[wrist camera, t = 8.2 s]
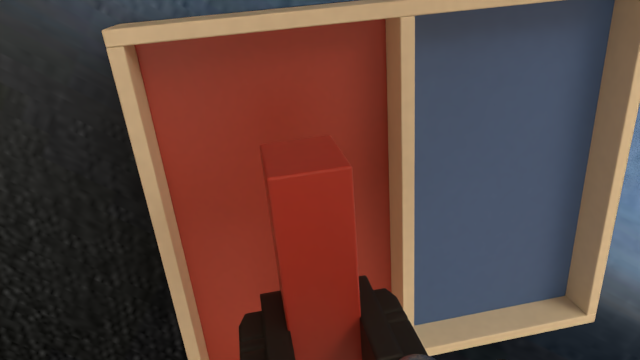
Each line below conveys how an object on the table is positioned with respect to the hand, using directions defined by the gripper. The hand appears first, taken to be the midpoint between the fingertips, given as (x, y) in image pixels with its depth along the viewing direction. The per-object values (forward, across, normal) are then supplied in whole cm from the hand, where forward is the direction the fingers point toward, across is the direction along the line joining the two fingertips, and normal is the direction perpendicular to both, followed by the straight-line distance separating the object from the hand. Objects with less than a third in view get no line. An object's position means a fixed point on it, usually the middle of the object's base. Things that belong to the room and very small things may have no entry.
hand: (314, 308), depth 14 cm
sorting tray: (+9, -5, +1) cm, 10 cm away
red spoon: (0, 0, 0) cm, 0 cm away
